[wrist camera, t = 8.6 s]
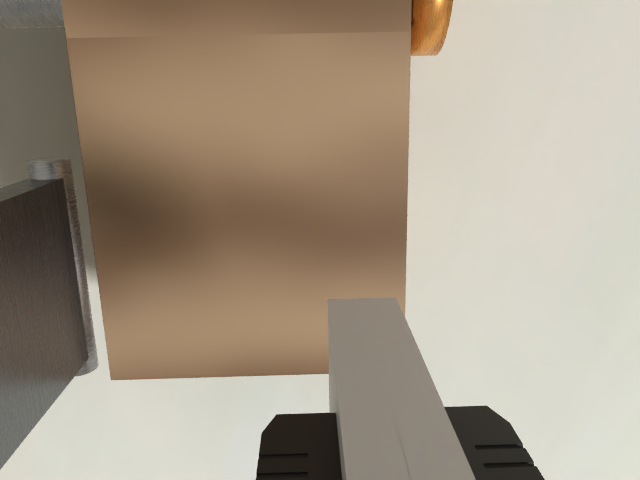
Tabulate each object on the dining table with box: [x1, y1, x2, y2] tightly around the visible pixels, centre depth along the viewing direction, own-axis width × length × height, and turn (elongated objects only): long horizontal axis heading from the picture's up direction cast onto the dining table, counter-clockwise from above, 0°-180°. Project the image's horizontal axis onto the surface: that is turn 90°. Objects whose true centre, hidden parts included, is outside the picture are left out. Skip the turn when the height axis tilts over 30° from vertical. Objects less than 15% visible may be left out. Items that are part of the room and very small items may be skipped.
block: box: [61, 0, 412, 380], centre depth 21 cm, size 18×10×8 cm, turn 1°
